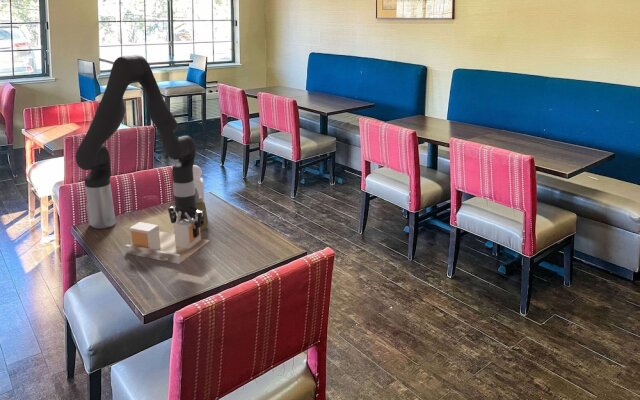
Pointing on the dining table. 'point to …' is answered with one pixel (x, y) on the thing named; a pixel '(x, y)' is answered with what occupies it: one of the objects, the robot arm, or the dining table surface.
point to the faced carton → (145, 235)
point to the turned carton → (185, 234)
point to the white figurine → (198, 181)
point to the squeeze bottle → (201, 209)
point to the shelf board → (166, 249)
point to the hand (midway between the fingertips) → (188, 235)
